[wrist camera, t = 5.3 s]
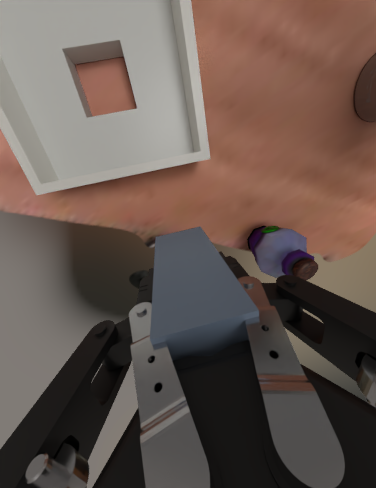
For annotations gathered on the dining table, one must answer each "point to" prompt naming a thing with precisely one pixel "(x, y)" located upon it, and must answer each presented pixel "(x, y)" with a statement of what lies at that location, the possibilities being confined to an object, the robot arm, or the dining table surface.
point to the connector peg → (196, 297)
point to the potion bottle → (281, 252)
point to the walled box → (73, 97)
